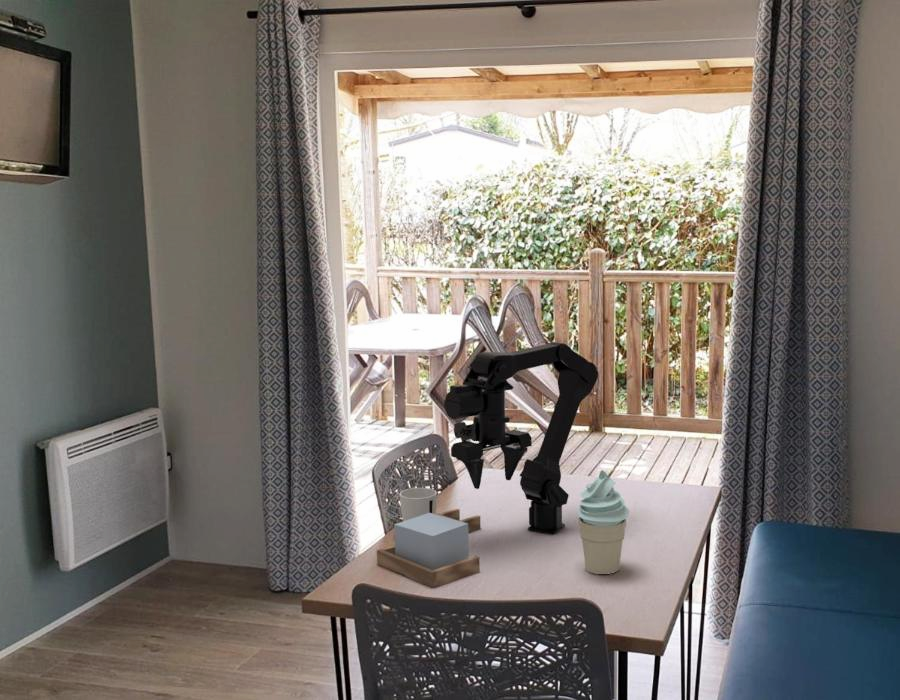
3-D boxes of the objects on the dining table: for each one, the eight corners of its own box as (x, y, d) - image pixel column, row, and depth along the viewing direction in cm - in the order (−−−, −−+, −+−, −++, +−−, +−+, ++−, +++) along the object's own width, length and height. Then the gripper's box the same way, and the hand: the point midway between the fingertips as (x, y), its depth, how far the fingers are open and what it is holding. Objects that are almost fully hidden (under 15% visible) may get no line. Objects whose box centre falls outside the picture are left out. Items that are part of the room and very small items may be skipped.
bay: (423, 549, 211) (423, 536, 211) (479, 571, 198) (479, 557, 198) (377, 564, 203) (376, 550, 203) (432, 588, 190) (432, 573, 190)
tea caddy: (431, 552, 210) (430, 510, 209) (475, 566, 202) (474, 523, 200) (389, 567, 202) (388, 524, 201) (433, 583, 193) (431, 538, 192)
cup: (433, 544, 215) (432, 499, 213) (396, 542, 216) (395, 497, 215) (441, 531, 222) (440, 488, 221) (405, 530, 224) (404, 487, 223)
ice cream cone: (581, 580, 192) (581, 479, 189) (574, 559, 203) (574, 464, 200) (634, 579, 192) (634, 478, 189) (623, 558, 203) (624, 463, 200)
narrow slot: (456, 521, 230) (456, 508, 229) (480, 529, 224) (480, 516, 223) (435, 527, 225) (435, 514, 225) (458, 535, 219) (458, 522, 219)
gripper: (497, 400, 222) (498, 469, 225) (433, 413, 210) (434, 485, 213) (533, 407, 214) (533, 478, 216) (468, 421, 202) (469, 496, 204)
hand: (492, 484), depth 213 cm, fingers open, 9 cm apart
